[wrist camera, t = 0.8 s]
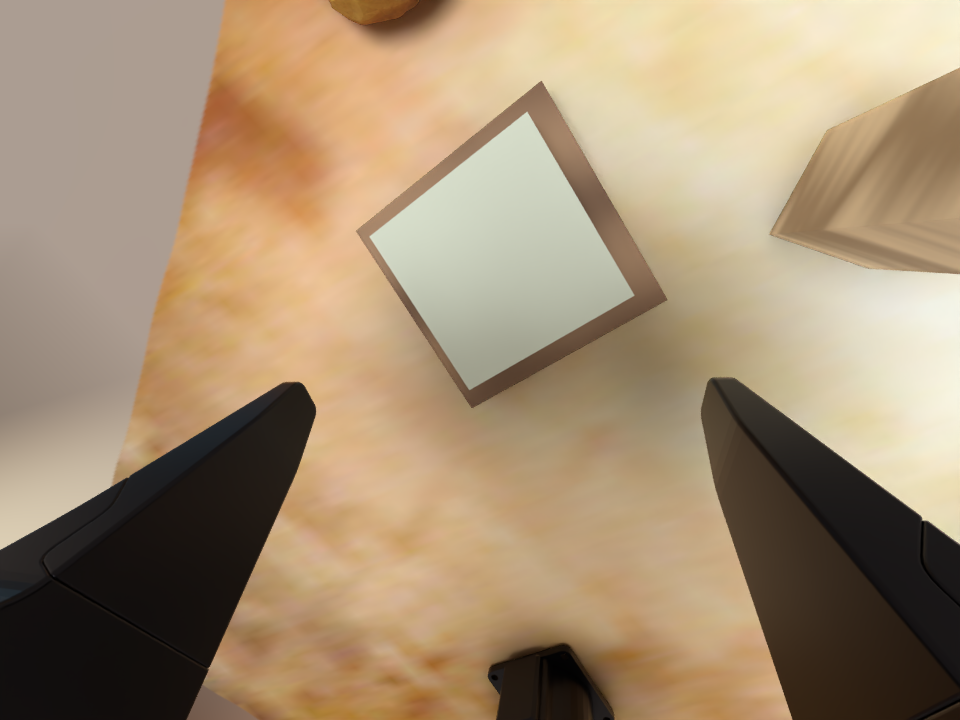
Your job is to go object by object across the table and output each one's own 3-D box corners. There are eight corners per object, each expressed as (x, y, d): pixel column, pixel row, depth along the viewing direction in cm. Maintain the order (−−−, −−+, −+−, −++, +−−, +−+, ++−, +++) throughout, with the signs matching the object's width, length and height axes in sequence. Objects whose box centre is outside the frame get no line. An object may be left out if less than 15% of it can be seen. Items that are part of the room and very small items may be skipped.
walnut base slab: (658, 295, 20) (667, 299, 19) (479, 395, 24) (471, 408, 22) (544, 97, 19) (541, 80, 17) (373, 232, 23) (355, 231, 21)
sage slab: (628, 290, 19) (634, 295, 17) (478, 378, 21) (469, 390, 20) (531, 126, 18) (527, 111, 16) (387, 237, 21) (369, 236, 19)
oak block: (868, 268, 18) (1183, 287, 9) (769, 234, 19) (967, 217, 9) (936, 164, 17) (1394, 56, 8) (826, 130, 17) (1128, -12, 8)
